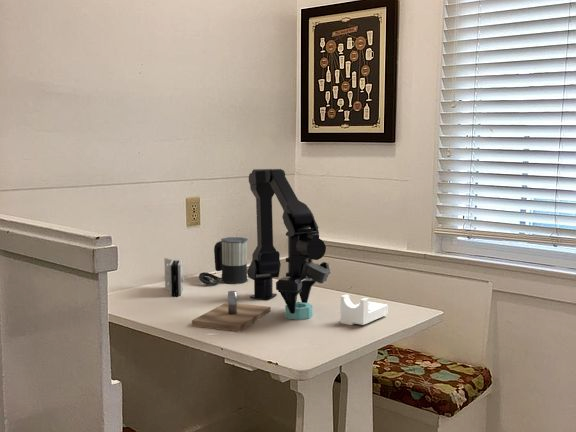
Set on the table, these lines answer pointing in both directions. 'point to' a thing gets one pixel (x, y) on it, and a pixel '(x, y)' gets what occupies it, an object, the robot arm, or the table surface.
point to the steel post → (232, 302)
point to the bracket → (361, 311)
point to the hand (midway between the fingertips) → (298, 309)
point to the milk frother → (229, 261)
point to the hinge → (174, 276)
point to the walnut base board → (231, 317)
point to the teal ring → (300, 311)
